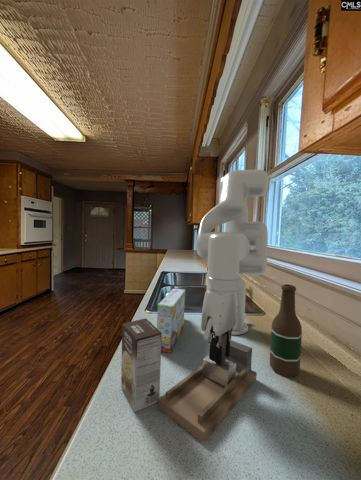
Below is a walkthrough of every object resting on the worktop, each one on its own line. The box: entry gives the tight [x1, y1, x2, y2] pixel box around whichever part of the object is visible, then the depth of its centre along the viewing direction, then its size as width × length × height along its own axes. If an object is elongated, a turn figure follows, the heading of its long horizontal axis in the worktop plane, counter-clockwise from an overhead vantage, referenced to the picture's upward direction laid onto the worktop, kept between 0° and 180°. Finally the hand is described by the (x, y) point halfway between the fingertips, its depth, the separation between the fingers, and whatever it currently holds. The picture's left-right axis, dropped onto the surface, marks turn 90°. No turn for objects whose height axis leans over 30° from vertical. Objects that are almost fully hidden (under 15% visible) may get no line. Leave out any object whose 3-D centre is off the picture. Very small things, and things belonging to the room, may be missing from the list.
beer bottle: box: [269, 283, 303, 378], centre depth 65 cm, size 8×8×24 cm
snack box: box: [156, 288, 186, 354], centre depth 82 cm, size 21×6×15 cm, turn 168°
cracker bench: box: [157, 339, 257, 443], centre depth 55 cm, size 24×12×8 cm, turn 139°
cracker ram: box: [202, 333, 236, 387], centre depth 57 cm, size 4×7×11 cm, turn 49°
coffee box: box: [120, 318, 162, 413], centre depth 53 cm, size 9×6×16 cm
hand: (219, 357), depth 57 cm, fingers closed on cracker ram, 3 cm apart
